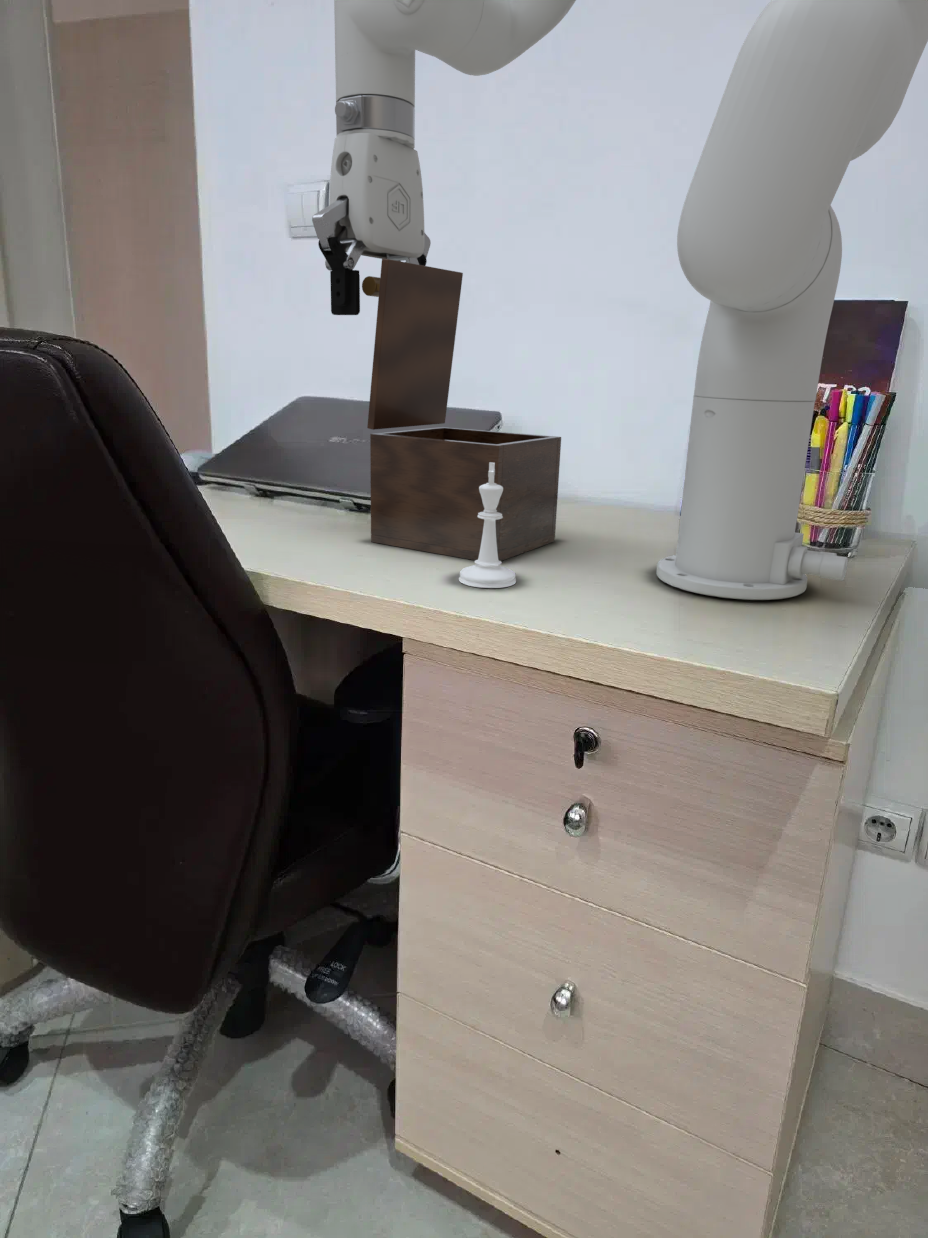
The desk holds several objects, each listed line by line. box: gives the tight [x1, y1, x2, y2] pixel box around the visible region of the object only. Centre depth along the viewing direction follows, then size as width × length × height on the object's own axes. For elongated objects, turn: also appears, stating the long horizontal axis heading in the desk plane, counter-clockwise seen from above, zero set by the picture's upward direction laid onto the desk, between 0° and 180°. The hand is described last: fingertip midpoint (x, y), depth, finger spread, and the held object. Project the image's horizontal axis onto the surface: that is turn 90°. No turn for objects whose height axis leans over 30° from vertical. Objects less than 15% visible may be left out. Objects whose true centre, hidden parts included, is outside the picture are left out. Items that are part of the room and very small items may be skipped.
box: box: [369, 426, 562, 562], centre depth 84 cm, size 15×13×11 cm
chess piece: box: [458, 463, 517, 589], centre depth 69 cm, size 5×5×10 cm
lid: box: [361, 259, 464, 431], centre depth 84 cm, size 15×13×6 cm
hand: (376, 317), depth 85 cm, fingers open, 9 cm apart
